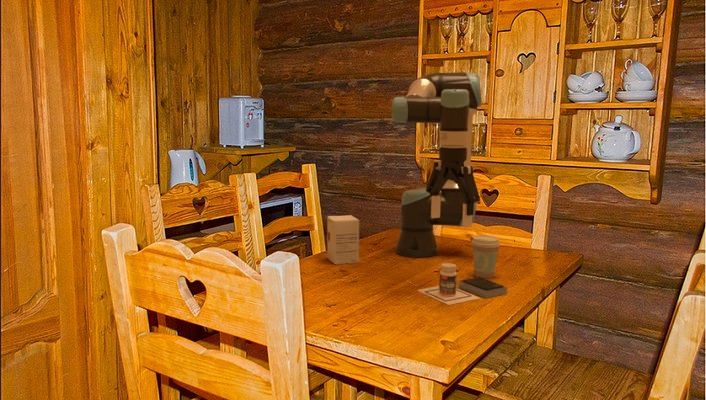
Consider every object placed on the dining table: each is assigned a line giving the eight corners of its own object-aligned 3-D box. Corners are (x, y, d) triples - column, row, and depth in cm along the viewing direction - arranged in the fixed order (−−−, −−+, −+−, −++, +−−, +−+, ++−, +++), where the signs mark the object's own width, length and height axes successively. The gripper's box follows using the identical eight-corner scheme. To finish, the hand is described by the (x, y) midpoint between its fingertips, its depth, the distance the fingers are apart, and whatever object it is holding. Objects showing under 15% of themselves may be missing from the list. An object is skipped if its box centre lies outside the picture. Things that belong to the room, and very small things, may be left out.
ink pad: (458, 287, 162) (459, 279, 162) (479, 283, 166) (479, 276, 166) (485, 298, 153) (485, 290, 152) (506, 293, 157) (507, 286, 156)
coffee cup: (465, 273, 177) (466, 236, 175) (488, 270, 180) (489, 234, 178) (479, 280, 169) (481, 242, 167) (503, 278, 172) (505, 240, 170)
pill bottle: (438, 296, 154) (439, 266, 152) (439, 290, 158) (440, 262, 157) (455, 297, 153) (457, 267, 151) (456, 292, 157) (457, 263, 156)
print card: (416, 290, 159) (416, 289, 159) (447, 285, 164) (447, 284, 164) (448, 305, 147) (448, 304, 147) (480, 298, 152) (480, 297, 152)
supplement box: (326, 258, 194) (326, 215, 191) (351, 256, 197) (351, 214, 194) (333, 265, 185) (334, 220, 183) (359, 262, 188) (359, 219, 186)
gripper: (415, 143, 162) (413, 215, 165) (474, 150, 140) (470, 232, 144) (435, 142, 165) (433, 213, 169) (496, 149, 144) (492, 229, 148)
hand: (450, 222), depth 157 cm, fingers open, 13 cm apart
